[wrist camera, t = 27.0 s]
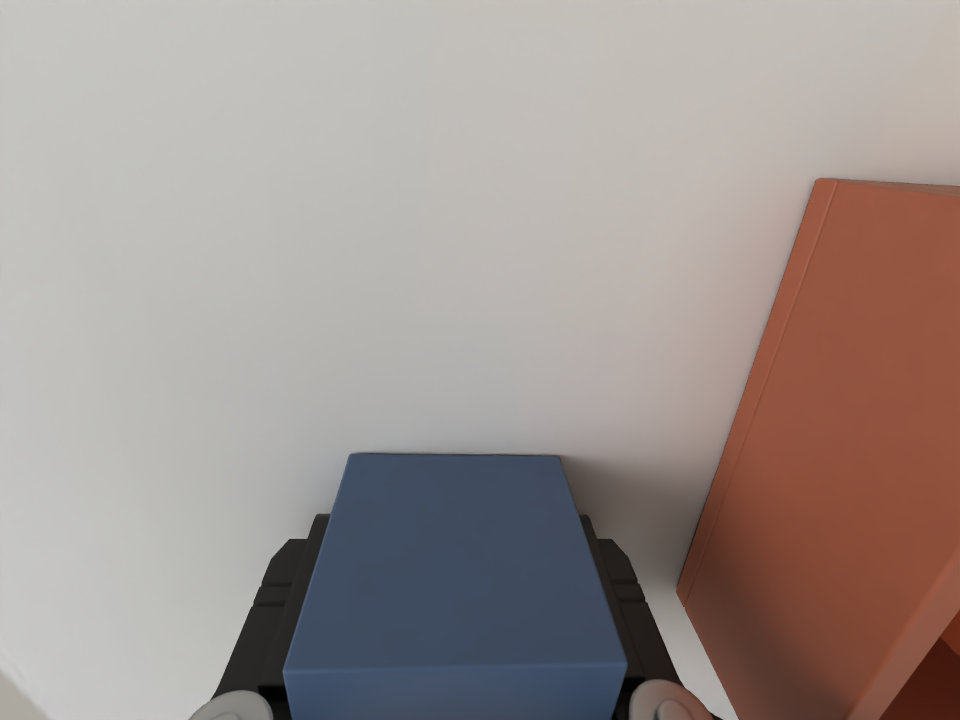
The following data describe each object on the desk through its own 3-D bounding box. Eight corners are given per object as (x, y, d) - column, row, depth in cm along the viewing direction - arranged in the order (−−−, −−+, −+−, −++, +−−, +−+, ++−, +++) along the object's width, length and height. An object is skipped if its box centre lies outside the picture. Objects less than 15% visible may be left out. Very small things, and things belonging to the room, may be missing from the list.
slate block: (360, 598, 12) (314, 838, 8) (349, 452, 10) (279, 673, 6) (537, 596, 12) (579, 826, 8) (560, 455, 10) (631, 664, 6)
